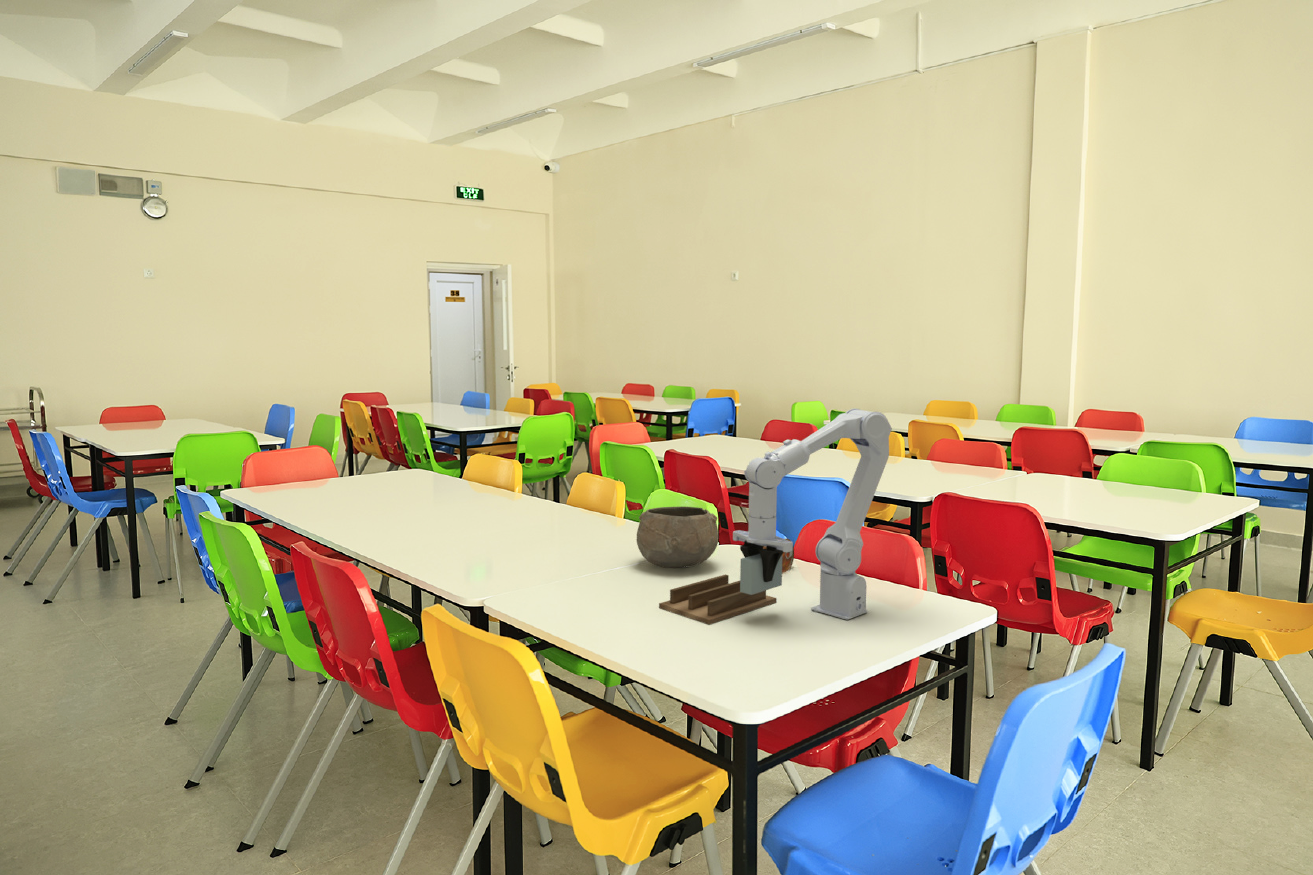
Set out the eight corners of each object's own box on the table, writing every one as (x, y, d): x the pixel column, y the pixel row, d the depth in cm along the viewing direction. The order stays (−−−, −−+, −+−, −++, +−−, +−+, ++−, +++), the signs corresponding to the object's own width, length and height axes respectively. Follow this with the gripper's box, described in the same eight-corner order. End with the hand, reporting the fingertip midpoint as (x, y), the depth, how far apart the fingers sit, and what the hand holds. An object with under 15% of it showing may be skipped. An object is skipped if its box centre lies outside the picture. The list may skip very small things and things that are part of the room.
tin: (765, 581, 207) (766, 547, 206) (754, 578, 209) (755, 545, 208) (795, 568, 219) (795, 536, 218) (784, 566, 221) (784, 534, 220)
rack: (776, 602, 190) (776, 585, 190) (709, 624, 175) (709, 605, 174) (726, 588, 201) (726, 571, 200) (659, 607, 186) (659, 590, 185)
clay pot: (620, 565, 221) (620, 508, 219) (678, 552, 234) (678, 499, 233) (676, 583, 205) (676, 521, 203) (734, 567, 219) (735, 510, 217)
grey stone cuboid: (781, 585, 181) (782, 553, 180) (751, 594, 174) (751, 561, 173) (770, 582, 183) (771, 550, 182) (740, 591, 176) (740, 558, 175)
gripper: (723, 513, 179) (722, 575, 181) (777, 524, 169) (776, 590, 170) (745, 508, 184) (744, 569, 186) (799, 519, 174) (798, 583, 175)
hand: (761, 579), depth 178 cm, fingers closed on grey stone cuboid, 3 cm apart
